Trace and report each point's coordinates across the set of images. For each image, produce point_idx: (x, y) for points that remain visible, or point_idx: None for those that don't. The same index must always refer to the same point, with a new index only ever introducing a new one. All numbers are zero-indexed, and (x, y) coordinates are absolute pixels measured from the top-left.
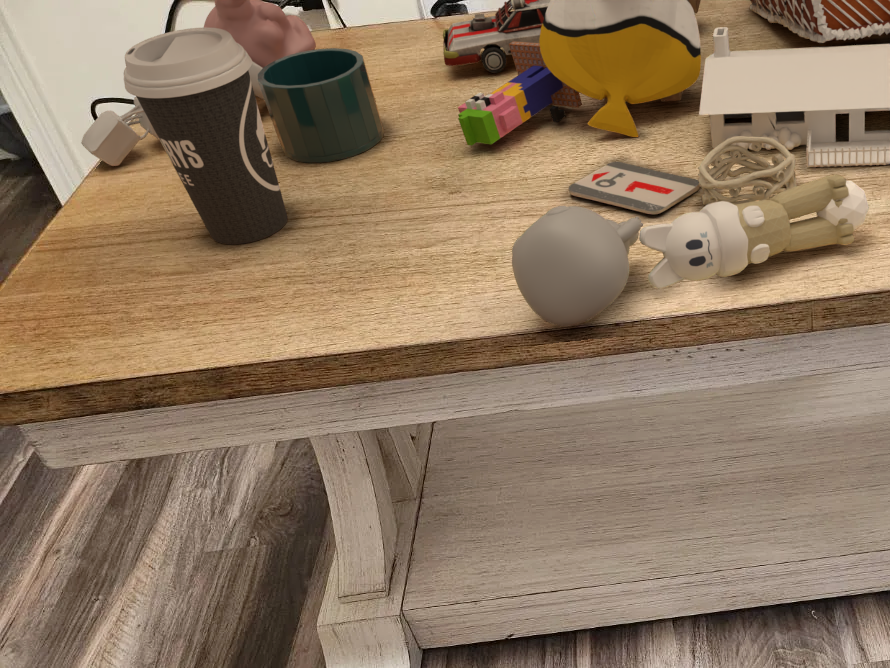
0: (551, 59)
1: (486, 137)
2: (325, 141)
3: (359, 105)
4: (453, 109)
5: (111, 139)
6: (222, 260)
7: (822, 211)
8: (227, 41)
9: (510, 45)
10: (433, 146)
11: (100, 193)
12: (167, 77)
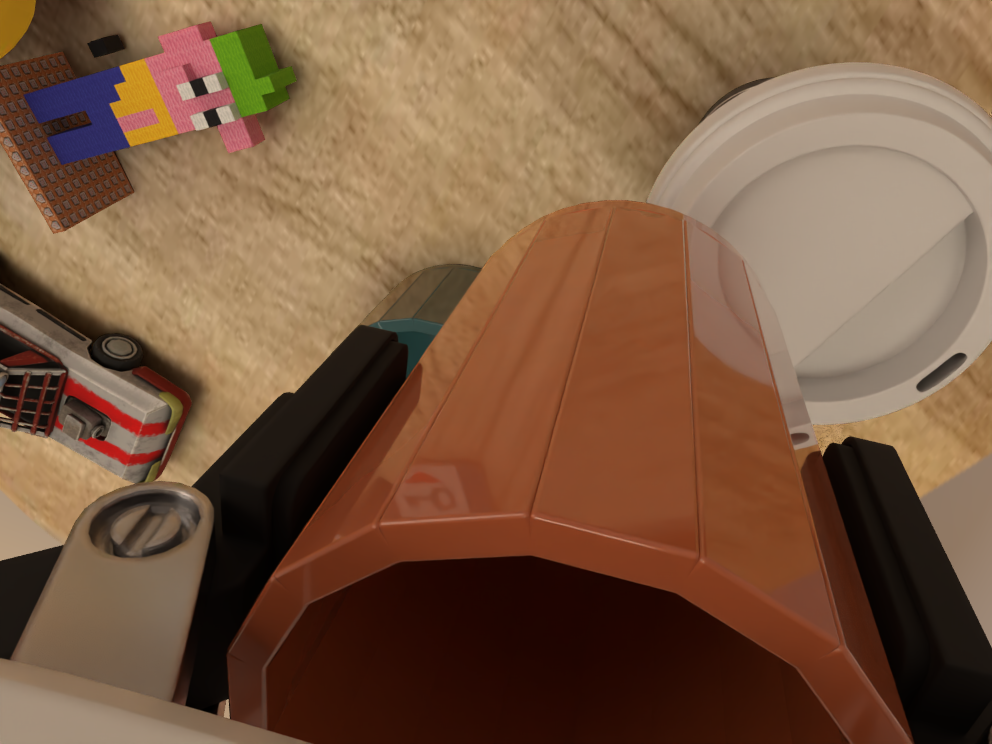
0: (9, 16)
1: (258, 33)
2: None
3: (400, 296)
4: (248, 283)
5: None
6: (897, 59)
7: None
8: (722, 173)
9: (64, 225)
10: (342, 172)
11: None
12: (977, 140)
